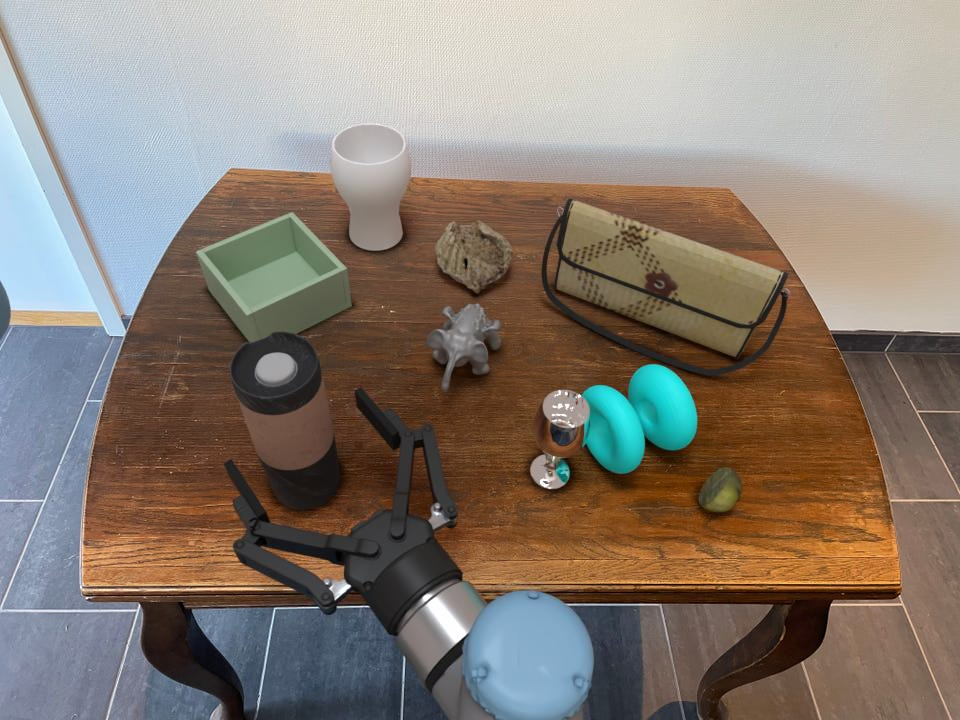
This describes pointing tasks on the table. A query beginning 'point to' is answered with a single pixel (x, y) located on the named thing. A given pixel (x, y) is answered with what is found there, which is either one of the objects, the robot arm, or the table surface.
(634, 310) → the clutch purse
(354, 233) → the cup
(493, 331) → the gray elephant figurine
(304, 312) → the bin
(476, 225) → the seashell
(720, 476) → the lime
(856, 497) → the table surface
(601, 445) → the turquoise yo-yo
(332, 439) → the travel mug
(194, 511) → the table surface
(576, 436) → the wineglass
